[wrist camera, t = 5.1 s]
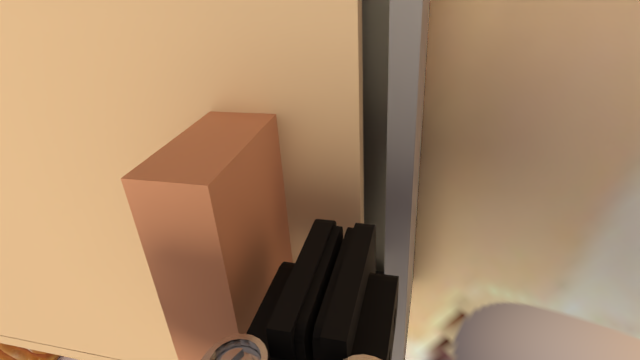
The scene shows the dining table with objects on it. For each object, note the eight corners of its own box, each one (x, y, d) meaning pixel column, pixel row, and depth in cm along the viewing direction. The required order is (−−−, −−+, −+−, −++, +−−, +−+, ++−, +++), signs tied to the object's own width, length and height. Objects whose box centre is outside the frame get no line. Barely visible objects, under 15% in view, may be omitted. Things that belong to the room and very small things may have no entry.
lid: (371, -104, 11) (300, -138, 6) (370, 376, 19) (343, 534, 14) (-210, -53, 16) (-519, -46, 11) (-5, 307, 24) (-123, 404, 19)
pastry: (23, 282, 33) (-23, 320, 30) (91, 339, 34) (55, 381, 31) (-19, 322, 38) (-62, 359, 34) (43, 371, 39) (7, 410, 36)
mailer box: (434, -64, 15) (426, -63, 10) (413, 280, 23) (401, 388, 18) (-8, -37, 20) (-177, -25, 15) (96, 240, 28) (11, 315, 22)
